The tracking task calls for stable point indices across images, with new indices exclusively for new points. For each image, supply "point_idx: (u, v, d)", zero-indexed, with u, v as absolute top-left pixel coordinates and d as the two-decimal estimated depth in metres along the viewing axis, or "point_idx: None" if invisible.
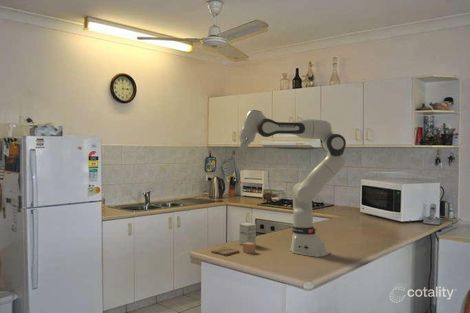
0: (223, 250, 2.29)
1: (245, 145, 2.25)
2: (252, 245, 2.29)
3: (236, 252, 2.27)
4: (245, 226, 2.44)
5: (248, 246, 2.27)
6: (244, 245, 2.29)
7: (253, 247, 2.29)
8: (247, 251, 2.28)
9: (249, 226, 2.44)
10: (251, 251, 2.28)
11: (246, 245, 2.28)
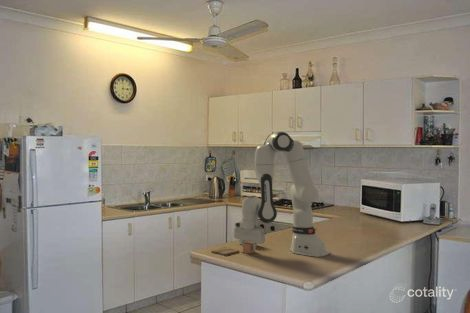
0: (223, 250, 2.29)
1: (264, 235, 2.24)
2: (252, 245, 2.28)
3: (236, 252, 2.27)
4: None
5: (248, 246, 2.27)
6: (244, 245, 2.29)
7: None
8: (247, 251, 2.28)
9: None
10: (251, 251, 2.28)
11: (246, 245, 2.28)
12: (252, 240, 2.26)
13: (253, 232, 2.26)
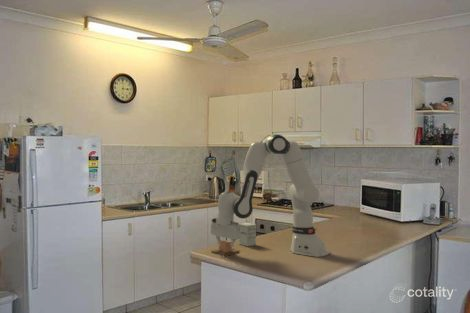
0: None
1: (239, 231, 2.23)
2: (228, 243, 2.27)
3: (236, 252, 2.27)
4: (245, 226, 2.44)
5: (224, 245, 2.26)
6: (220, 243, 2.28)
7: (229, 245, 2.28)
8: (223, 249, 2.26)
9: (249, 226, 2.44)
10: (227, 249, 2.26)
11: (222, 243, 2.27)
12: (228, 236, 2.25)
13: (229, 228, 2.24)
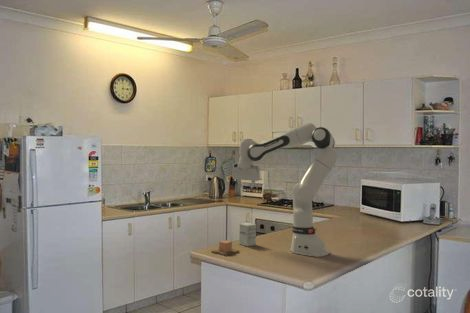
0: None
1: (259, 173, 2.49)
2: (228, 243, 2.27)
3: (236, 252, 2.27)
4: (245, 226, 2.44)
5: (224, 245, 2.26)
6: (220, 243, 2.28)
7: (229, 245, 2.28)
8: (223, 249, 2.26)
9: (249, 226, 2.44)
10: (227, 249, 2.26)
11: (222, 243, 2.27)
12: (248, 178, 2.51)
13: (249, 171, 2.51)
